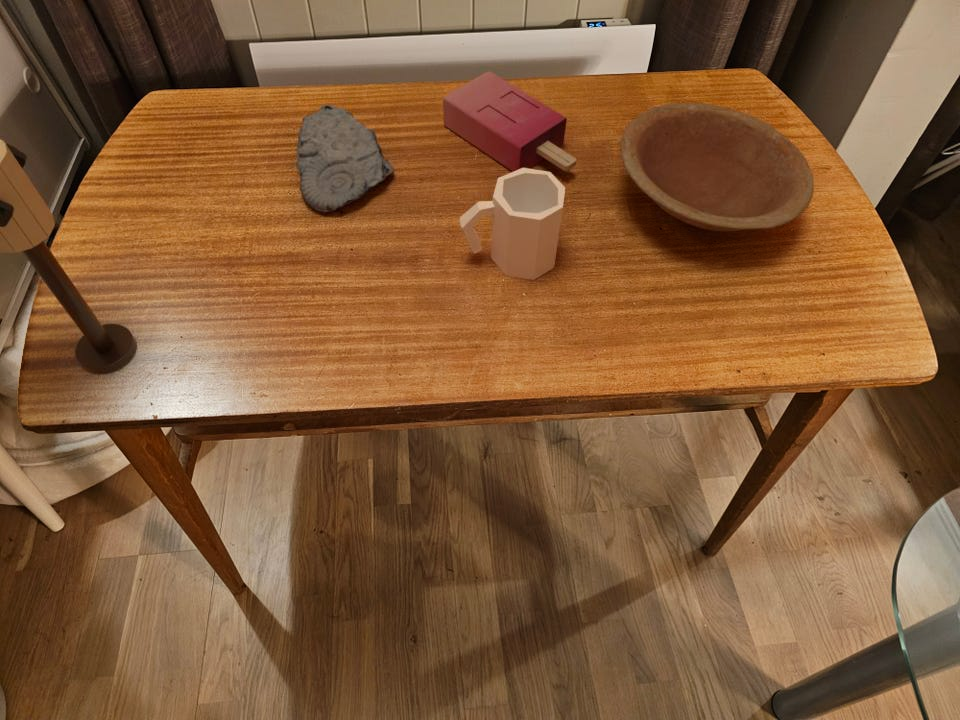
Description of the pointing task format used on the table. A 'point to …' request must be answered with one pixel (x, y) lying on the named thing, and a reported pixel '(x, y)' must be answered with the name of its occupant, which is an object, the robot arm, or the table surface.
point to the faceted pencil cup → (21, 207)
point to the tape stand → (84, 318)
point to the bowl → (716, 167)
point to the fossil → (337, 159)
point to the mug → (521, 222)
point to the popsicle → (507, 123)
